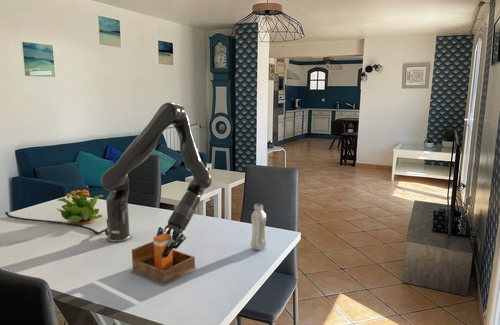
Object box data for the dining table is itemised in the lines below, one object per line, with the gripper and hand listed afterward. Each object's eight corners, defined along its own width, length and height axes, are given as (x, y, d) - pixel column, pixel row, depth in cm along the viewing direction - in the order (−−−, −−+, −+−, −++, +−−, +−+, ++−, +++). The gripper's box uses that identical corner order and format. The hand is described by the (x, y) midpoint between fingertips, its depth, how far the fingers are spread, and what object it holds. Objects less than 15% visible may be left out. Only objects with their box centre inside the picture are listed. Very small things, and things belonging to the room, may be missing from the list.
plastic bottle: (250, 246, 167) (250, 202, 164) (265, 245, 168) (265, 202, 164) (251, 252, 161) (251, 207, 158) (267, 251, 162) (267, 206, 158)
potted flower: (117, 220, 202) (115, 188, 199) (77, 233, 182) (74, 199, 179) (89, 212, 215) (86, 182, 212) (48, 224, 196) (45, 192, 193)
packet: (154, 269, 143) (153, 237, 141) (165, 264, 148) (164, 232, 146) (161, 272, 141) (160, 239, 139) (173, 266, 146) (172, 235, 143)
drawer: (132, 271, 143) (131, 249, 142) (164, 257, 156) (163, 237, 154) (164, 285, 133) (163, 261, 132) (195, 268, 146) (194, 247, 144)
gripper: (164, 208, 151) (141, 246, 143) (189, 214, 143) (166, 255, 135) (174, 217, 156) (152, 254, 148) (199, 224, 148) (178, 264, 140)
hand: (159, 255), depth 142 cm, fingers closed on packet, 4 cm apart
